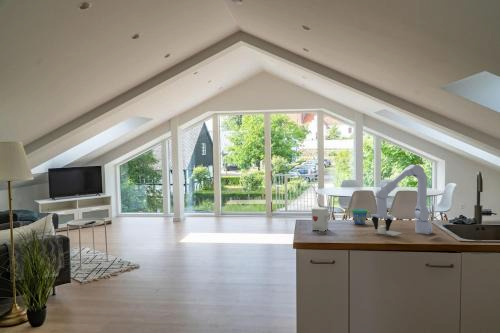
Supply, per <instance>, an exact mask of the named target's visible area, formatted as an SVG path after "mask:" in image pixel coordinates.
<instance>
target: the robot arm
mask: <svg viewBox="0 0 500 333" xmlns="http://www.w3.org/2000/svg"><path fill="white" fill-rule="evenodd" d="M411 176H413V177H415V178H416V180H417V195H416V196H417V197H416V206H415V209H414V211H413V216H414V217H415V222H414V224H415V225H414V226H415V227H414V228H415V231H414V232H415V233H417V234H426V235H431V234H433V222H432V221H430V220H428V219H429V218H430V213H429V208H428V207H427V196H428V195H427V189H428V176H427V174H426V172H425V170H424V167H422V166H421V165H419V164H409V165H408V166H406V167H405V168H404V169H403V170H402V171H401V172H400V173H398V174H397V176H396V177H395V178H394V179H392V180H391V179H390V180H387V181H386V183H385V184H384V185H382V186H380V188H379V189H377V190H376V192H375V196H376V213H375V214H374V213H372V214H371V213H370V214H371V218H370V220H371V221H372V224H373V227H374V229H375V230H378V226H379V220H380V219H384V222H385V226H386V231H390V227H391V225H392V223H393V220H394V216H393V215H387V213H388V212H387V204H388V202H387V198H388V196H389V195H390V193H392V192H393V191H394V190H395V189H396V188H397V187H398V186H397V185H398V184H399V183H400V182H401V181H402V180H404V179H405V178H406V177H411Z"/></svg>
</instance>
